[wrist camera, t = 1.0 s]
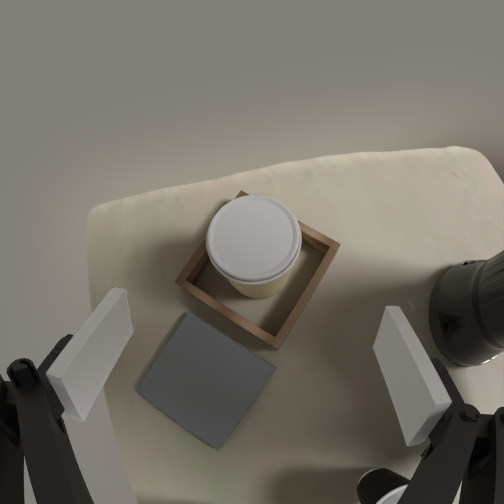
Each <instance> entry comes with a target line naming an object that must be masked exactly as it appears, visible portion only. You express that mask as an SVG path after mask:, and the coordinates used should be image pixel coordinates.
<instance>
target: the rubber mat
mask: <svg viewBox="0 0 504 504" xmlns="http://www.w3.org/2000/svg"><path fill="white" fill-rule="evenodd" d="M275 369H276V368H275V367H274V366H272V365H271V364H269V363H267V362H266V361H264V360H262V359H261V358H259V357H258V356H256V355H254V354H253V353H251V352H250V351H248V350H246V349H245V348H243V347H242V346H240V345H239V344H237V343H236V342H234V341H232V340H231V339H229V338H228V337H226V336H225V335H223V334H222V333H220V332H219V331H217V330H216V329H214V328H213V327H211V326H210V325H208V324H207V323H205V322H204V321H203V320H201V319H200V318H198V317H197V316H195V315H194V314H192V313H191V312H188V313H187V314H186V316H185V317H184V319H183V320H182V322H181V323H180V325H179V326H178V328H177V329H176V331H175V332H174V334H173V335H172V337H171V338H170V340H169V341H168V343H167V344H166V346H165V347H164V349H163V350H162V352H161V353H160V355H159V356H158V358H157V359H156V361H155V362H154V364H153V365H152V367H151V368H150V370H149V371H148V373H147V374H146V376H145V377H144V379H143V380H142V382H141V383H140V385H139V386H138V388H137V389H136V391H137V392H138V393H139V394H141V395H142V396H143V397H144V398H146V399H147V400H148V401H149V402H150V403H152V404H153V405H154V406H156V407H157V408H158V409H159V410H161V411H162V412H163V413H165V414H166V415H167V416H169V417H170V418H171V419H173V420H174V421H175V422H177V423H178V424H180V425H181V426H182V427H184V428H185V429H187V430H188V431H189V432H191V433H192V434H194V435H195V436H197V437H198V438H200V439H201V440H203V441H204V442H206V443H207V444H209V445H210V446H212V447H213V448H215V449H216V450H219V448H220V447H221V446H222V444H223V443H224V442H225V440H226V439H227V438H228V436H229V435H230V434H231V432H232V431H233V429H234V428H235V427H236V425H237V424H238V423H239V421H240V420H241V418H242V417H243V416H244V414H245V413H246V411H247V410H248V409H249V407H250V406H251V404H252V403H253V401H254V400H255V398H256V397H257V396H258V394H259V393H260V391H261V390H262V388H263V387H264V385H265V384H266V382H267V381H268V379H269V378H270V376H271V375H272V373H273V372H274V370H275Z"/></svg>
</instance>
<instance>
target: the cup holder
mask: <svg viewBox="0 0 504 504" xmlns="http://www.w3.org/2000/svg"><path fill="white" fill-rule="evenodd" d="M247 195H249V194H247V193H245V192H243V191H240V193H239V194H238V195H237V197H236V198H239V197H242V196H247ZM236 198H235V199H236ZM297 221H298V220H297ZM298 223H299V226H300V230H301V237H302V240H301V241H303V242H305V243H307V244H309V245H310V246H312V247H314V248H316V249H317V250H319V251H321V252H323V253H324V254H326V255H325V257H324V258H323V260H322V262H321V264H320V265H319V267H318V269H317V270H316V272H315V274H314V276H313V277H312V279H311V281H310V282H309V284H308V286H307V287H306V289H305V291H304V292H303V294H302V296H301V297H300V299H299V301H298V302H297V304H296V305H295V307H294V309H293V310H292V312H291V313H290V315H289V317H288V318H287V320H286V321H285V323H284V325H283V326H282V328H281V329H280V331H279V333H278V334H277V336H276V337H274V336H272V335H270V334H269V333H267V332H265V331H264V330H262V329H261V328H259V327H257V326H256V325H254V324H253V323H251V322H249V321H248V320H246V319H245V318H243V317H241V316H240V315H238V314H237V313H235V312H234V311H232V310H231V309H229V308H227V307H226V306H224V305H223V304H221V303H220V302H218V301H217V300H215V299H214V298H212V297H211V296H209V295H208V294H206V293H204V292H203V291H201V290H200V289H198V288H197V287H195V286H194V285H193V283H194V282H195V280H196V279H197V277H198V276H199V274H200V273H201V271H202V270H203V269H204V267H205V266H206V264H207V263H208V261H209V260H210V258H209V255H208V252H207V247H206V239H205V240H204V242H203V243H202V244H201V246H200V247H199V249H198V250H197V251H196V253H195V254H194V256H193V257H192V258H191V260H190V261H189V263H188V264H187V265H186V267H185V268H184V270H183V271H182V273H181V274H180V275H179V277H178V278H177V280H176V281H175V283H177V284H178V285H179V286H180V287H181V288H183V289H184V290H186V291H187V292H189V293H190V294H191V295H193V296H194V297H196V298H197V299H199V300H200V301H202V302H203V303H205V304H206V305H208V306H209V307H211V308H212V309H214V310H215V311H217V312H218V313H220V314H221V315H223V316H224V317H226V318H227V319H229V320H231V321H232V322H234V323H235V324H237V325H238V326H240V327H241V328H243V329H245V330H246V331H248V332H249V333H251V334H252V335H254V336H256V337H257V338H259V339H260V340H262V341H264V342H265V343H267V344H269V345H270V346H272V347H273V348H275V349H277V350H278V349H279V348H280V346H281V345H282V343H283V341H284V340H285V338H286V337H287V335H288V334H289V332H290V330H291V329H292V327H293V326H294V324H295V322H296V321H297V319H298V317H299V316H300V314H301V313H302V311H303V309H304V308H305V306H306V304H307V303H308V301H309V299H310V298H311V296H312V294H313V293H314V291H315V289H316V287H317V286H318V284H319V282H320V281H321V279H322V277H323V275H324V274H325V272H326V270H327V268H328V267H329V265H330V263H331V261H332V260H333V258H334V256H335V254H336V252H337V251H338V249H339V247H340V245H341V244H339V243H338V242H336V241H334V240H332V239H330V238H329V237H327V236H325V235H323V234H322V233H320V232H318V231H316V230H314V229H313V228H311V227H309V226H307V225H305V224H303V223H302V222H300V221H298Z"/></svg>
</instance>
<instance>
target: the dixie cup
mask: <svg viewBox="0 0 504 504" xmlns="http://www.w3.org/2000/svg"><path fill="white" fill-rule="evenodd" d="M409 482H410V480H409V479H407V478H405V477H403V476H401V475H399V474H397V473H395V472H393V471H391V470H389V469H385V468H375V469H372V470H369V471H368V472H366V473H365V474H364V475H363V476H362V477H361V478H360V480H359V482H358V486H357V494H358V497H359V500H360V503H361V504H397V502H398V501H399V499H400V497H401V496H402V494H403V492H404V491H405V489H406V487H407V486H408V484H409Z"/></svg>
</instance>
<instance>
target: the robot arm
mask: <svg viewBox="0 0 504 504" xmlns="http://www.w3.org/2000/svg"><path fill="white" fill-rule="evenodd" d="M429 320H430V327H431V331H432V335H433V338H434V340H435V343H436V345H437V346H438V348H439V350H440V351H441V352H442V354H443V355H444V356H445V357H446V358H447V359H449V360H450V361H452V362H453V363H455V364H458V365H461V366H477V365H482V364H485V363H487V362H489V361H491V360H492V359H494V358H495V357H496V356H497V355H498V354H500V353H501V352H503V351H504V250H503V251H502V252H500V253H498V254H497V255H495V256H494V257H492V258H490V259H489V260H470V261H464V262H461V263H459V264H457V265H455V266H454V267H452V268H451V269H449V270H448V271H446V272H445V273H444V274H443V275H442V276H441V278H440V279H439V280H438V282H437V284H436V285H435V288H434V290H433V293H432V296H431V300H430V307H429ZM133 332H134V331H133V326H132V321H131V316H130V310H129V305H128V299H127V293H126V289H122V288H112V289H111V290H110V292H109V293H108V294H107V295H106V296H105V298H104V299H103V300H102V301H101V302H100V304H99V305H98V306H97V307H96V308H95V310H94V311H93V312H92V313H91V315H90V316H89V317H88V318H87V320H86V321H85V322H84V323H83V325H82V326H81V327H80V328H79V330H78V331H77V332H76V333H75V335H70V334H68V335H67V336H65V337H63V338H62V339H61V340H60V341H59V342H58V343H57V344H56V346H55V348H54V349H52V351H51V352H50V354H49V355H48V356H47V357H46V359H45V360H44V361H43V363H42V364H41V365H40V366H39V368H38V369H37V370H36V368H35V366H34V364H33V362H32V361H31V360H29V359H26V358H22V359H18V360H15V361H14V362H12V363H11V364H10V365H9V367H8V368H7V374H8V376H9V378H10V380H11V381H4V380H3V378H2V377H1V375H0V504H24V456H25V460H26V465H27V469H28V473H29V477H30V481H31V485H32V488H33V491H34V495H35V499H36V502H37V504H94V502H93V500H92V498H91V496H90V494H89V491H88V489H87V486H86V484H85V481H84V479H83V477H82V474H81V471H80V469H79V466H78V463H77V461H76V458H75V455H74V452H73V449H72V446H71V443H70V440H69V437H68V434H67V431H66V428H65V424H64V420H63V419H62V417H61V415H62V413H63V412H64V410H65V412H66V413H67V415H68V417H69V418H70V419H73V420H76V421H79V422H82V423H84V422H85V420H86V418H87V416H88V414H89V412H90V410H91V408H92V406H93V404H94V403H95V401H96V399H97V397H98V395H99V393H100V391H101V389H102V388H103V386H104V384H105V382H106V380H107V378H108V376H109V375H110V373H111V371H112V369H113V367H114V366H115V364H116V362H117V360H118V358H119V357H120V355H121V353H122V351H123V350H124V348H125V346H126V344H127V343H128V341H129V339H130V337H131V336H132V334H133ZM373 350H374V353H375V355H376V358H377V361H378V363H379V366H380V369H381V371H382V374H383V377H384V380H385V382H386V385H387V388H388V391H389V394H390V396H391V399H392V402H393V405H394V408H395V411H396V414H397V417H398V420H399V423H400V426H401V429H402V432H403V436H404V439H405V442H406V445H407V447H408V446H414V445H419V444H423V442H424V441H425V440H426V438H427V437H428V436H429V438H430V441H431V443H430V444H429V446H428V447H427V448H426V449H425V451H424V452H423V453H422V454H421V457H423V458H422V459H421V461H420V463H419V465H418V467H417V469H416V471H415V473H414V475H413V477H412V478H411V480H410V482H409V484H408V486H407V487H406V489H405V491H404V492H403V494H402V496H401V497H400V499H399V501H398V502H397V504H452V503H453V501H454V498H455V496H456V494H457V491H458V489H459V486H460V484H461V481H462V486H461V493H460V499H459V504H504V407H500V408H498V409H497V411H496V412H495V413H494V415H488V414H480V413H479V411H478V410H477V409H476V407H474V406H472V405H470V404H465V403H464V401H463V399H462V397H461V395H460V393H459V391H458V390H457V388H456V386H455V384H454V382H453V381H452V378H451V377H450V375H448V371H447V369H446V368H445V366H444V365H443V364H442V363H441V362H440V361H439V360H438V359H437V358H433V359H429V357H428V355H427V353H426V351H425V350H424V348H423V346H422V344H421V342H420V341H419V339H418V337H417V335H416V334H415V332H414V330H413V329H412V327H411V325H410V323H409V322H408V320H407V318H406V317H405V315H404V313H403V312H402V310H401V308H400V307H399V306H386V307H385V311H384V314H383V317H382V321H381V324H380V327H379V330H378V333H377V336H376V339H375V343H374V345H373Z"/></svg>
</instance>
